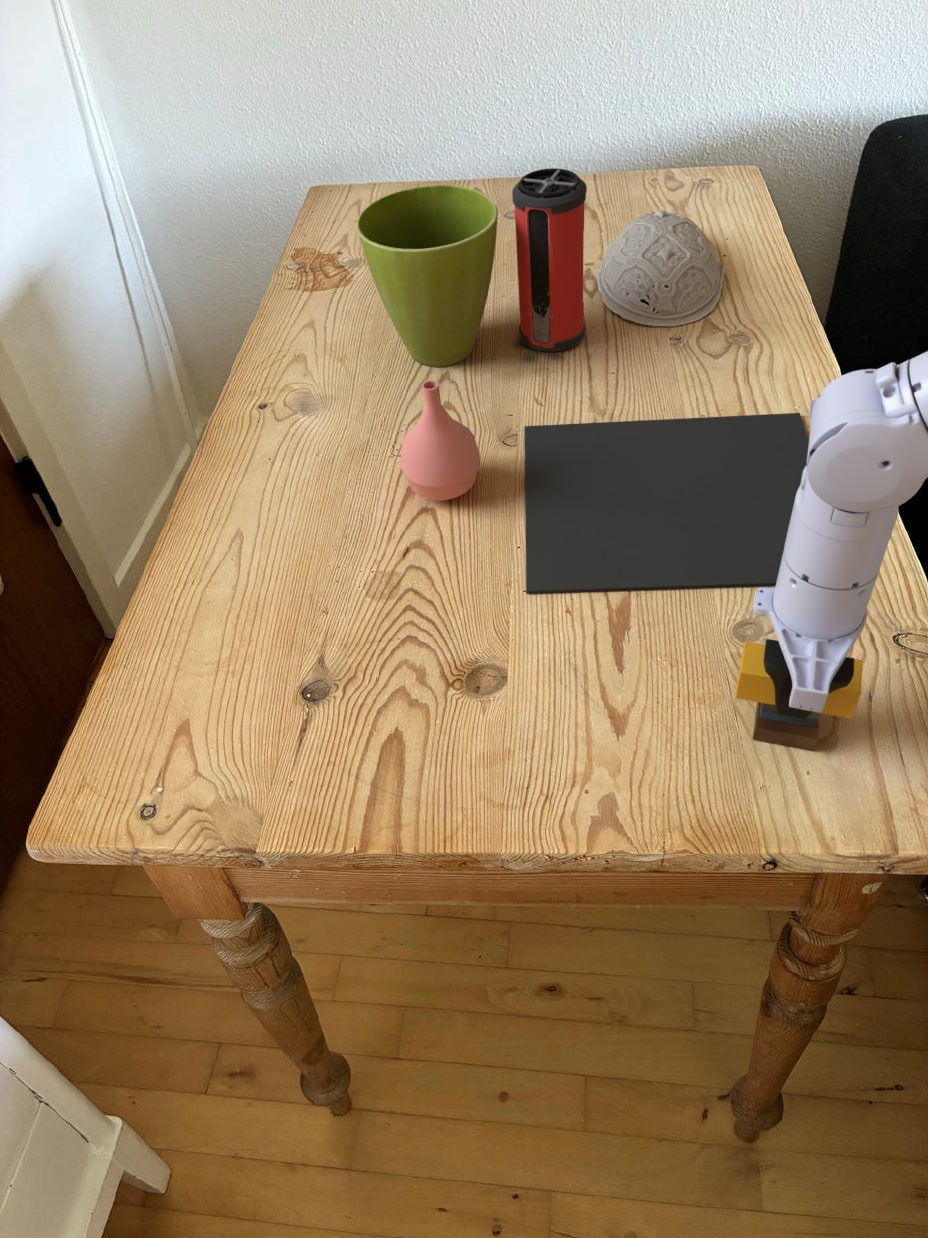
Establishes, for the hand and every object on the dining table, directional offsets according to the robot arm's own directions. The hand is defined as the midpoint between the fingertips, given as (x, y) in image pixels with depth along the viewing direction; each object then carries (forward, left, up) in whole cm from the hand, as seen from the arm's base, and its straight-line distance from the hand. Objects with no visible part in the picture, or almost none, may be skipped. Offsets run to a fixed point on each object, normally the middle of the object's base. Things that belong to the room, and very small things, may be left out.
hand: (793, 692), depth 68 cm
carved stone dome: (+20, -66, -4) cm, 69 cm away
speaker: (+30, -50, -4) cm, 58 cm away
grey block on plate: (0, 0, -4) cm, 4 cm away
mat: (+12, -24, -4) cm, 27 cm away
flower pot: (+42, -45, -4) cm, 62 cm away
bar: (0, 0, 0) cm, 0 cm away
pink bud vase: (+34, -21, -4) cm, 40 cm away
